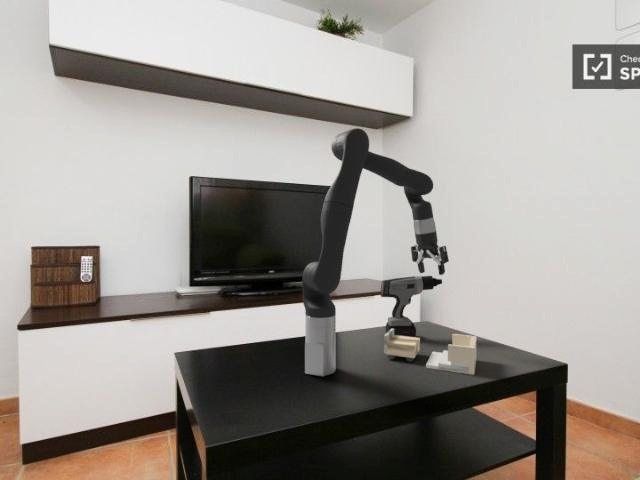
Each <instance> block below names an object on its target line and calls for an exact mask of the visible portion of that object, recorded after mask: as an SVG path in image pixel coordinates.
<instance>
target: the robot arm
mask: <svg viewBox="0 0 640 480" xmlns="http://www.w3.org/2000/svg"><path fill="white" fill-rule="evenodd" d="M330 146H331V151H332V154H333V155H334V157H335V158H336V159H338V160H339V161H341V165H340V169H339V171H338V173H337V176H336V177H335V179H334V181H333V182H332V183H331V186H330V187H329V189H328V190H327V193H326V195H325V197H324V199H323V205H322V209H321V215H320V229H321V230H320V231H321V237H322V239H321V240H322V243H321V244H322V245H321V251H320V255H319V259H318V261H313V262H310V263H308V264H307V265H306V266H305V268H304V270H303V272H302V277H301V278H302V280H301V281H302V282H301V284H302V303H303V306H304V309H305V310H304V311H305V313H304V314H305V327H304V328H305V342H304V373H305V374H307V375H311V376H312V375H313V376H317V377H325V376H329V375H331V374H334V373H335V372H336V346H337V345H336V344H337V343H336V330H337V329H336V328H337V327H336V325H337V323H336V322H337V321H336V320H337V319H336V316H337V315H336V313H337V310H336V305H335V304H334V302H333V300H332V299H331V298H332V297H331V294H332V293H334V292H335V291H336V290H337V288H338V287H339V285H340V283H341V278H342V269H343V260H344V252H345V246H346V242H347V238H348V232H349V227H350V223H351V220H352V216H353V210H354V206H355V200H356V196H357V192H358V187H359V183H360V179H361V176H362V172H363V170H365V171H369V172H370V173H372V174H375V175H377V176H379V177H381V178H383V179H385V180H386V181H388V182H389V183H392V184H393V185H395V186H398V187H403V193H404V195H405V198H406V200H407V202H408V205H409V207H410V209H411V214H412V220H413V230H414V237H415V242H416V244H415V245H413V246H410V252H411V260H412V262H413V263H416V264H417V268H418V269H417V270H418V272H419V273H420V274H423V273H425V269H426V268H425V263H424V262H423V261H424V260H425V259H432V260H433V261H435V263H436V264H437V269H438V270H437V271H438V275H440V276H442V275H444V274H445V273H446V269H445V264H446V263H449V261H450V260H449V254H448V250H447V246H446V245H442V246H439V244H438V242H439V240H438V234H437V227H436V221H435V219H434V214H433V206H432V203H431V202H430V201H427V200H425V199H424V198H423V196H426V195H429V194H430V193H431V192H432V190H433V189H434V181H433V179H432V178H431V177H430V175H428V174H426V173H424V172H421V171H419V170H417V169H413V168H410V167H408V166H406V165H405V164H403V163H402V162H400V161H398V160H396V159H394V158H391V157H387V156H384V155H381V154H377V153H374V152H372V151H370V138H369V136H368V134H367V132H366V130H364V129H363V128H351V129H349V130H346V131H343V132H341V133H339V134H337V135H336V136H335V137H334V138H333V139H332V141H331V145H330Z"/></svg>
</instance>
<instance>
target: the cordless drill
mask: <svg viewBox="0 0 640 480" xmlns="http://www.w3.org/2000/svg"><path fill="white" fill-rule="evenodd" d="M441 284H443V279H441V278H436V277H433V276H432V275H424V276H423V275H422V276H421V275H417V276H416V275H415V276H406V277H405V276H404V277H396V278H391V279H383V280H382V281H381V285H380V292H379V295H380V298H393V299H395V305H394V307H393V308H392V311H391V316H389V317H388V318H387V322H386V325H385V334H386V333H387V332H388V331H389V330H390V329H391V328H392V329H394V335H399V336H408V337H416V338H417V327H416V325H415V323H413V321H412V320H411V319H410V318H409V317H407V316H404V310H405V307H406V306H408V305H409V304H411V301H412V297H413V296H416V295H419V294H421V293H422V292H423V291H427V290H428V291H429V290H431V291H432V290H434V287H437V286H439V285H441Z"/></svg>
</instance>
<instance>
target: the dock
mask: <svg viewBox="0 0 640 480" xmlns="http://www.w3.org/2000/svg"><path fill="white" fill-rule="evenodd" d="M451 336H452V337H451V338H452V339H451V340H452V341H451V343H452V344H451V343H449V344H448V345H447V350H446V349H445V350H444V349H443V351H442V352H440V351H432V352H431V353H430V356H429V358H428V360H427V362H426V364H425V368H427V369H433V370H438V371H445V372H452V373H460V374H466V375H472V376H474V375H475V374H476V373H475V372H476V363H477V340H478V339H477V336H476V335H469V334H468V335H467V334H460V333H452V335H451Z"/></svg>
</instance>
